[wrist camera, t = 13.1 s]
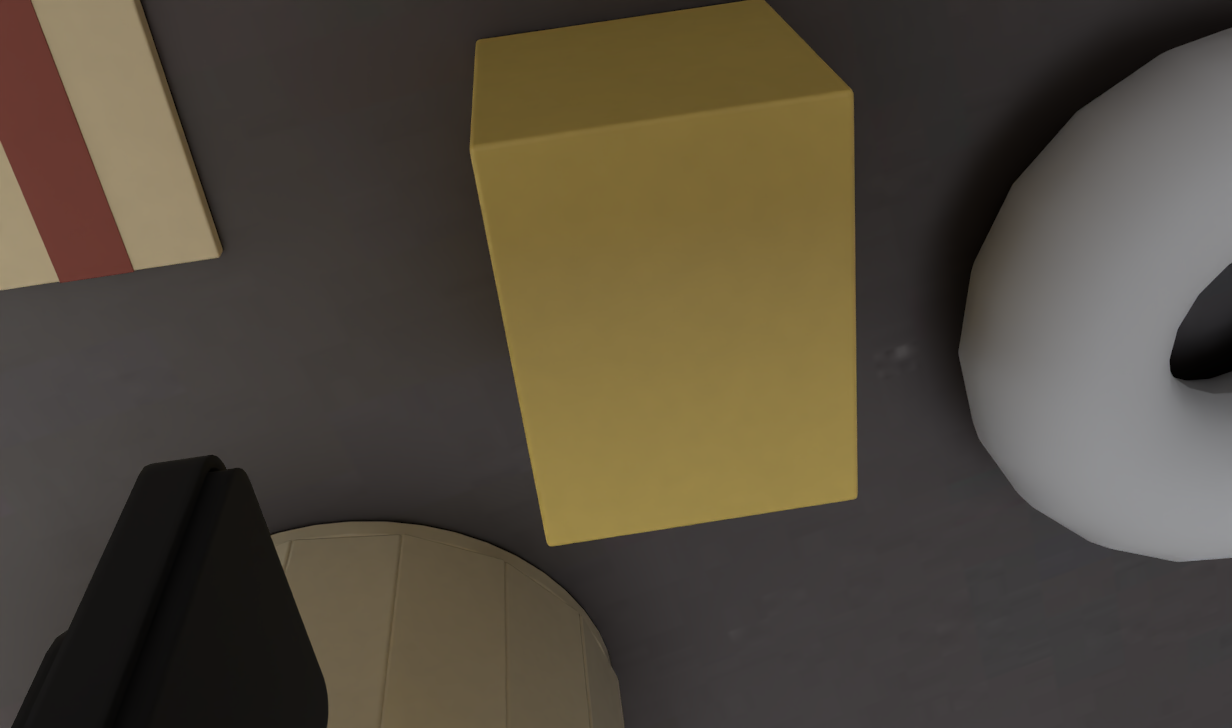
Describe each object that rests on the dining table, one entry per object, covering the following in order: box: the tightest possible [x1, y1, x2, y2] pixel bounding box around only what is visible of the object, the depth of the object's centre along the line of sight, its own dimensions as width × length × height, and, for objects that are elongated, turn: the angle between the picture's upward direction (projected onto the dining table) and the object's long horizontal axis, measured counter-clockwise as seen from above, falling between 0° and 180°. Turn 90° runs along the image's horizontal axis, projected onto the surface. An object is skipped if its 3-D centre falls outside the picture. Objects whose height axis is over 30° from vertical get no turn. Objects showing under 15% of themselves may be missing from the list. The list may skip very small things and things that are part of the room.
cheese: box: [470, 0, 858, 546], centre depth 16 cm, size 6×4×5 cm
